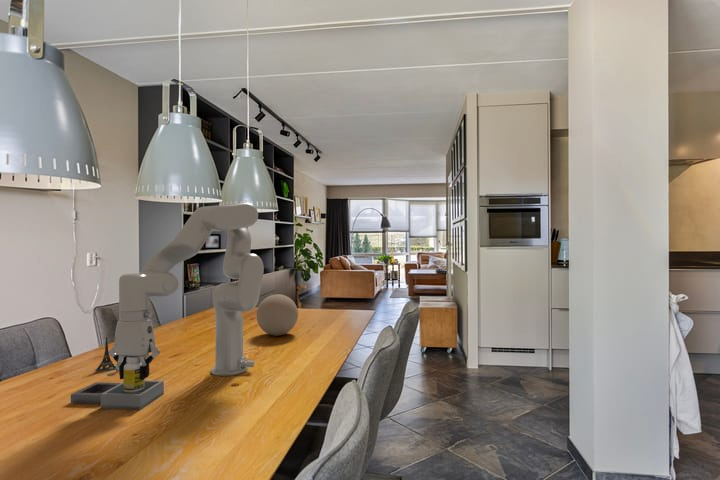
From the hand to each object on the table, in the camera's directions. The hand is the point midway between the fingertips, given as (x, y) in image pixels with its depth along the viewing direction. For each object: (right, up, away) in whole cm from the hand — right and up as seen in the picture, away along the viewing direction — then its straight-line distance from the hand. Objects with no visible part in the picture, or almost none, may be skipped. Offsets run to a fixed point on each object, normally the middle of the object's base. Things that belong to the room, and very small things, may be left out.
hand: (134, 377), depth 119 cm
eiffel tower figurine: (-25, -7, +28) cm, 39 cm away
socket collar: (-12, -7, +3) cm, 14 cm away
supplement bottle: (0, -4, 0) cm, 4 cm away
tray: (0, -7, 0) cm, 7 cm away
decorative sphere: (+25, -7, +82) cm, 86 cm away
